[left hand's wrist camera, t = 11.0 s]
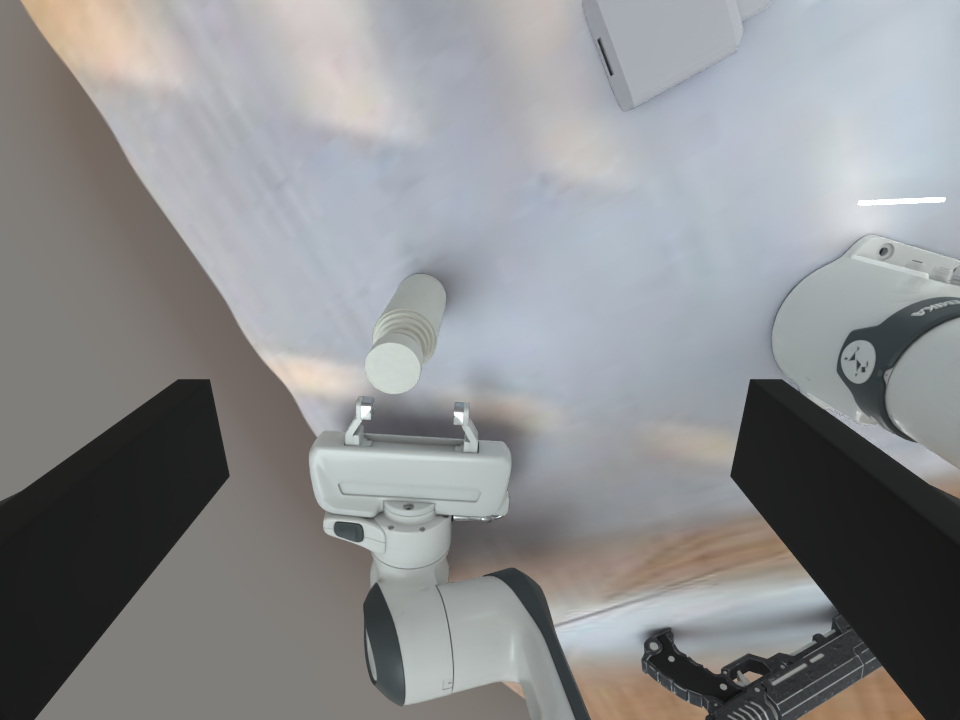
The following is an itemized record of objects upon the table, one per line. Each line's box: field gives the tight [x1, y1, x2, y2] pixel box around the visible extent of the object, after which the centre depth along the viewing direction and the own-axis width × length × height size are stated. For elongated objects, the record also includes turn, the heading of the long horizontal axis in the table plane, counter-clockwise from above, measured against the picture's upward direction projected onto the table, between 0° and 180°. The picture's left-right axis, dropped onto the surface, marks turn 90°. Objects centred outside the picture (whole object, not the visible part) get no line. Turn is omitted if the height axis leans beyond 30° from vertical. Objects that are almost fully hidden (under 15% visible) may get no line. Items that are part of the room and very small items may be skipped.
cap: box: [365, 333, 424, 394], centre depth 36 cm, size 4×4×2 cm
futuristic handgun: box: [641, 614, 882, 720], centre depth 66 cm, size 4×29×15 cm, turn 100°
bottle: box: [373, 274, 446, 365], centre depth 44 cm, size 5×5×19 cm
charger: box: [582, 0, 771, 112], centre depth 41 cm, size 5×9×15 cm
